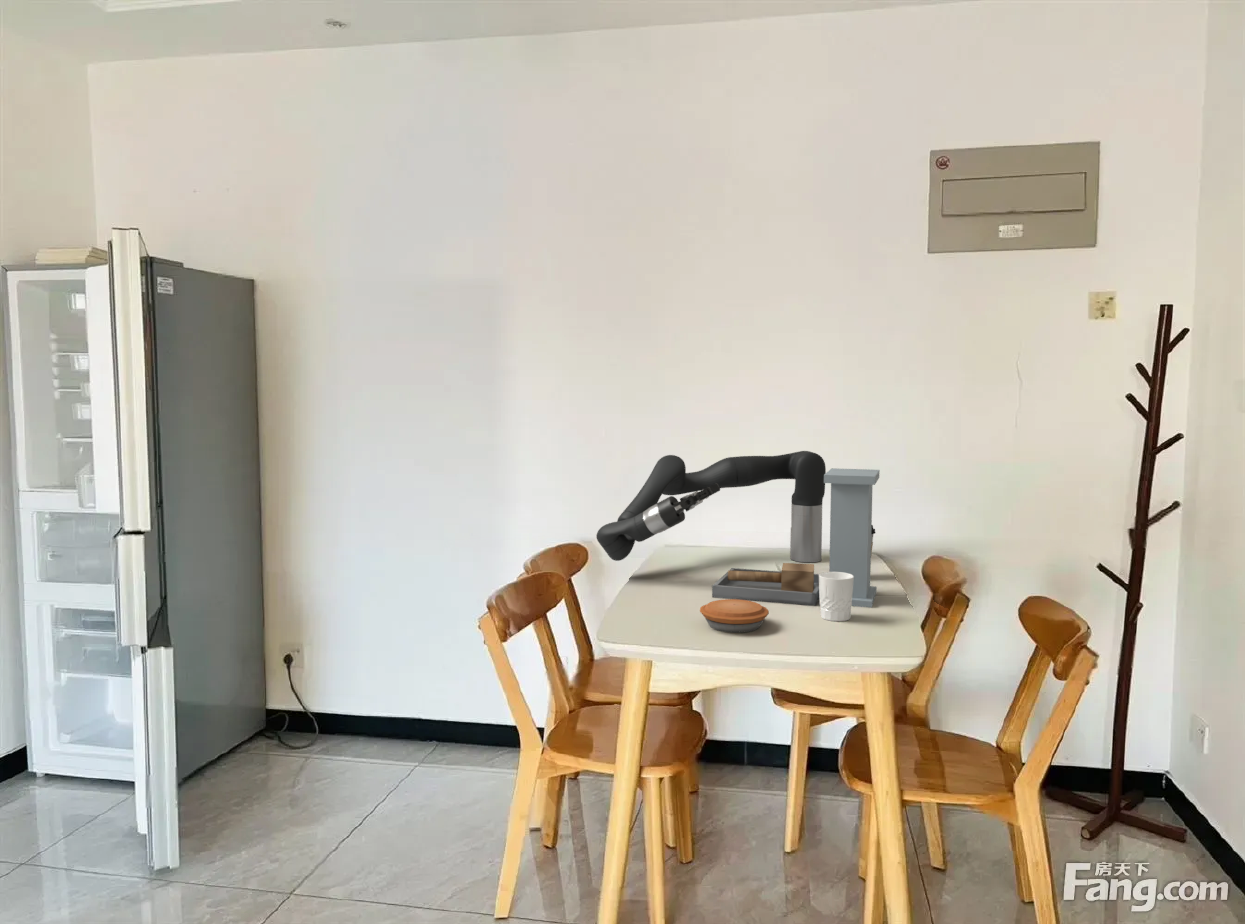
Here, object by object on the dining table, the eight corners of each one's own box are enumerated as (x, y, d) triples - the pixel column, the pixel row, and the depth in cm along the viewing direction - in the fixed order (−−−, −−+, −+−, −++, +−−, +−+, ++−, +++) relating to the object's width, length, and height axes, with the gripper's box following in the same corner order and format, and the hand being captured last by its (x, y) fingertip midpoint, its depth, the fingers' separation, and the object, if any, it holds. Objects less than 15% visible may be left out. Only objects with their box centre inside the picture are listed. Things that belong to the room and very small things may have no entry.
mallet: (726, 590, 225) (726, 567, 225) (730, 582, 234) (730, 560, 233) (813, 595, 220) (813, 571, 220) (813, 586, 229) (814, 564, 228)
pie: (780, 632, 191) (781, 610, 191) (715, 638, 187) (715, 615, 187) (751, 614, 206) (751, 593, 206) (690, 619, 202) (690, 598, 201)
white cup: (854, 614, 205) (855, 573, 204) (851, 623, 198) (852, 580, 197) (820, 611, 207) (820, 570, 207) (816, 620, 200) (816, 577, 199)
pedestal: (821, 603, 215) (823, 474, 212) (829, 588, 230) (831, 468, 227) (871, 607, 211) (875, 476, 208) (876, 592, 226) (879, 469, 223)
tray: (712, 597, 222) (712, 585, 221) (731, 578, 242) (731, 567, 242) (815, 606, 213) (815, 594, 212) (826, 585, 233) (827, 574, 233)
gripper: (649, 506, 229) (701, 478, 223) (664, 499, 242) (714, 473, 237) (662, 532, 228) (715, 504, 223) (677, 523, 242) (727, 497, 236)
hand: (714, 488), depth 230 cm, fingers open, 8 cm apart
